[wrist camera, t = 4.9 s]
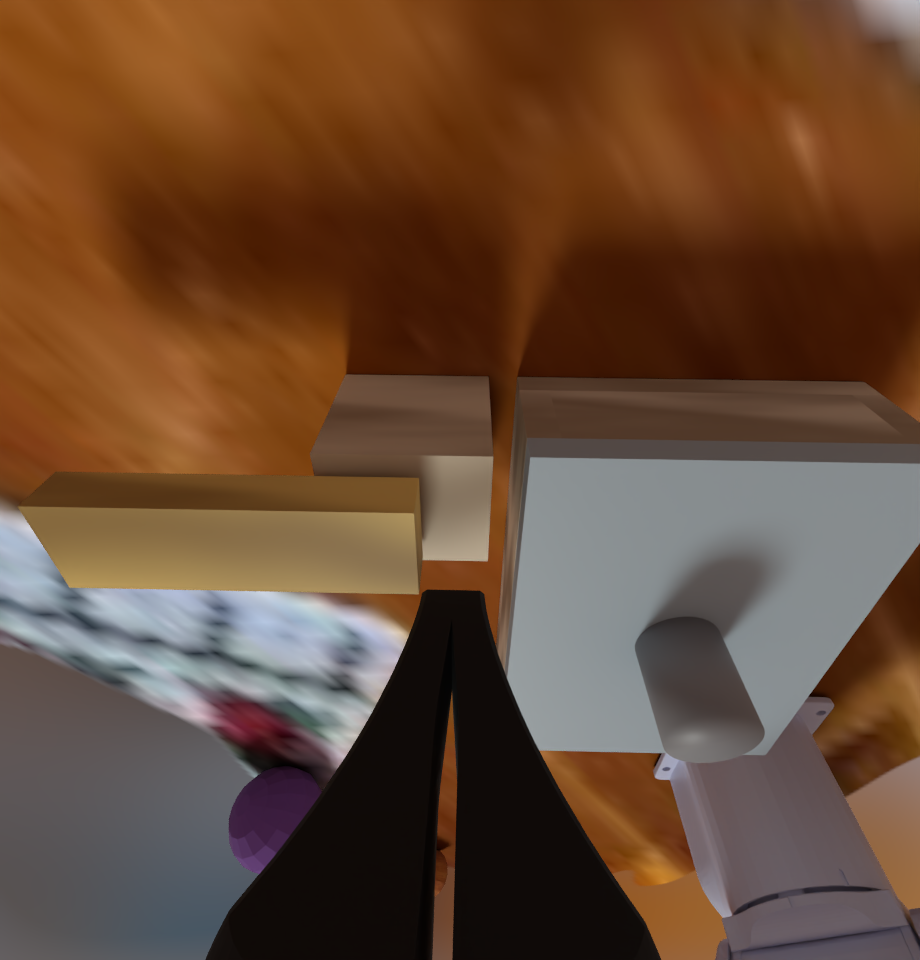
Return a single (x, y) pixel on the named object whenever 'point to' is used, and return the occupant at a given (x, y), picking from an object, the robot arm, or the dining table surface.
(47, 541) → the yellow rectangular block
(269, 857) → the kendama
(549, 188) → the dining table surface
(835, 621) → the lid
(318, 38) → the dining table surface
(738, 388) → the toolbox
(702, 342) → the dining table surface
